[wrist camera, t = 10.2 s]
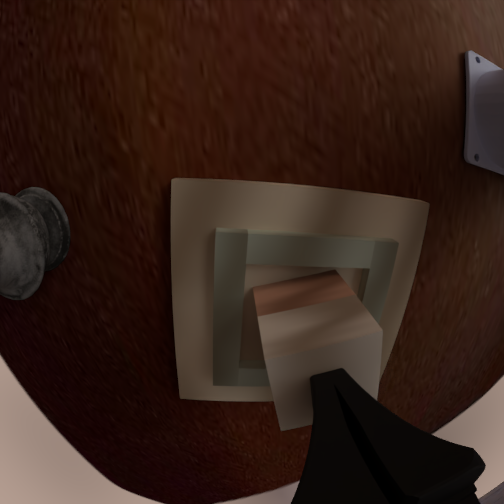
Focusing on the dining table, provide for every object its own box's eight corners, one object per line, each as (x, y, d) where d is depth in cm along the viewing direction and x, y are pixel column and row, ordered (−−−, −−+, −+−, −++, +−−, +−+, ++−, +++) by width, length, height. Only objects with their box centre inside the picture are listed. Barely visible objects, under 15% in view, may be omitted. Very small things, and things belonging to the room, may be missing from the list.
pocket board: (420, 200, 16) (437, 206, 14) (370, 384, 21) (378, 399, 19) (175, 177, 15) (168, 181, 13) (181, 388, 19) (178, 406, 18)
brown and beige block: (335, 269, 16) (382, 330, 10) (339, 336, 18) (376, 405, 12) (252, 286, 16) (264, 360, 10) (266, 352, 18) (281, 431, 12)
